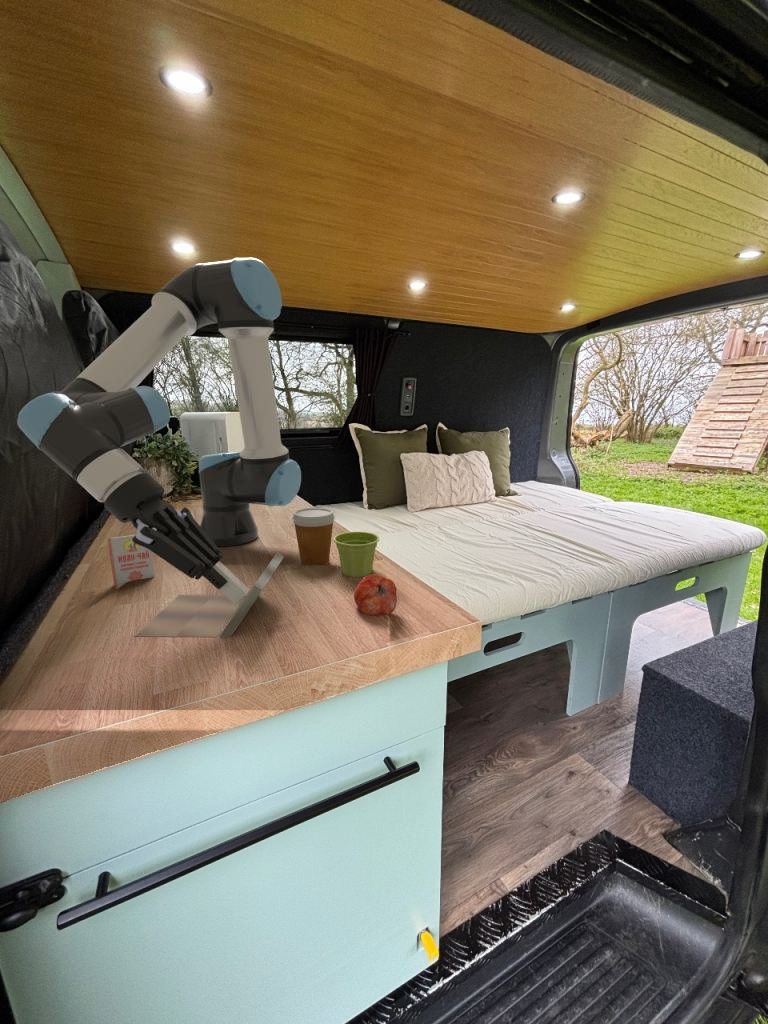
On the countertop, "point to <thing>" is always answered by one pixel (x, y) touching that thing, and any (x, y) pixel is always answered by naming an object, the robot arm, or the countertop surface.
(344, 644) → the countertop surface
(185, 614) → the floorboard
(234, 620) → the grey flat slab
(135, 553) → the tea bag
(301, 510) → the disposable coffee cup
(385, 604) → the pomegranate
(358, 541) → the plant pot
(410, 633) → the countertop surface
